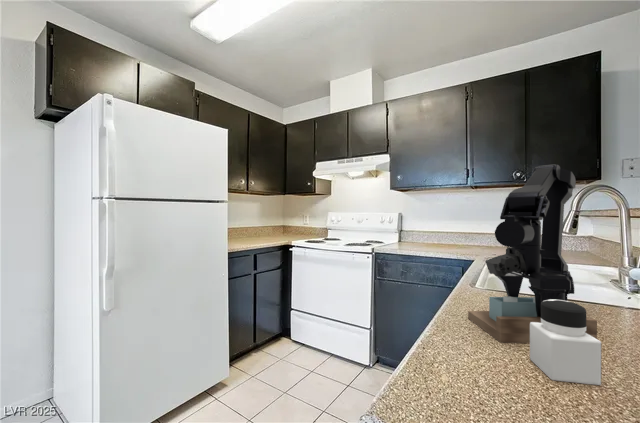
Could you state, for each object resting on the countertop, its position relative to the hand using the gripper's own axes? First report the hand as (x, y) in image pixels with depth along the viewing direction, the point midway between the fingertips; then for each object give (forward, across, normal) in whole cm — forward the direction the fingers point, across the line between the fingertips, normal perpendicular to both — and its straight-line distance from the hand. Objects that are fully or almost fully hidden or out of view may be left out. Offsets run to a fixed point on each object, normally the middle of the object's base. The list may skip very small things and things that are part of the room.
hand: (525, 310), depth 68 cm
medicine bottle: (+5, +18, -6) cm, 20 cm away
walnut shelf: (+5, 0, 0) cm, 5 cm away
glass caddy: (+3, 0, 0) cm, 3 cm away
